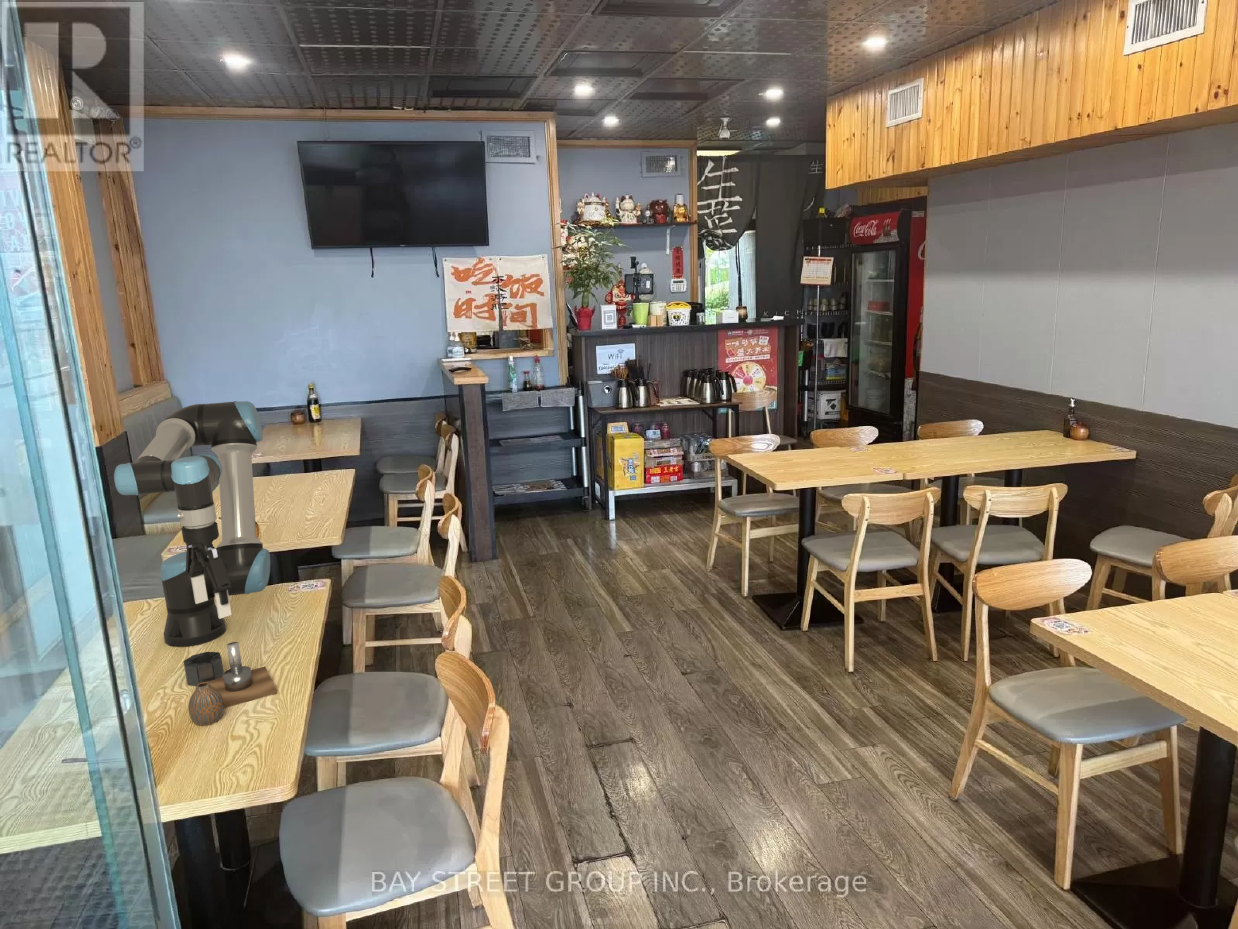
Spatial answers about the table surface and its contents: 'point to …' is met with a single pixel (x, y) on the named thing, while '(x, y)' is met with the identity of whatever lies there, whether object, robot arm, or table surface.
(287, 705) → the table surface
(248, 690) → the base board
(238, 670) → the shaft
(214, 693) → the vase
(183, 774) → the table surface
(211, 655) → the ring
